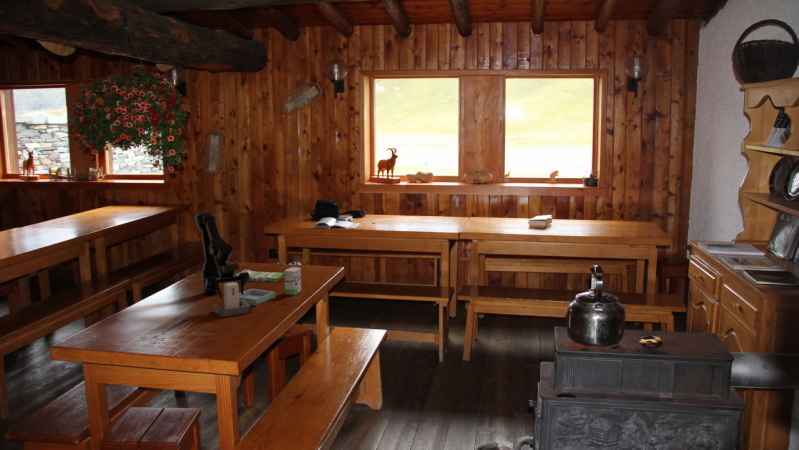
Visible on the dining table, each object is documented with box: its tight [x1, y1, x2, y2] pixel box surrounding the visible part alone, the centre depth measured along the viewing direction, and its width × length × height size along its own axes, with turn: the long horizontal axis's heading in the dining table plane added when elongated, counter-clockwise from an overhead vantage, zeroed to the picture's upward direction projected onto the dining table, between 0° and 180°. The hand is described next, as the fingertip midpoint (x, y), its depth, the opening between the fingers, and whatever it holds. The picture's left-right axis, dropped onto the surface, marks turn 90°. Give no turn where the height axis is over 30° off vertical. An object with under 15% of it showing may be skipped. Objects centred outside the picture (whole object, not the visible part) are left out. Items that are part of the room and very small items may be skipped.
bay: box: [213, 300, 252, 318], centre depth 291 cm, size 11×13×3 cm
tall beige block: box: [223, 281, 240, 309], centre depth 290 cm, size 6×5×12 cm
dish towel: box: [233, 268, 285, 283], centre depth 351 cm, size 17×23×4 cm
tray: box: [239, 288, 276, 307], centre depth 309 cm, size 14×14×3 cm
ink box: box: [284, 266, 302, 296], centre depth 320 cm, size 9×5×12 cm, turn 163°
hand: (232, 296), depth 290 cm, fingers open, 9 cm apart
